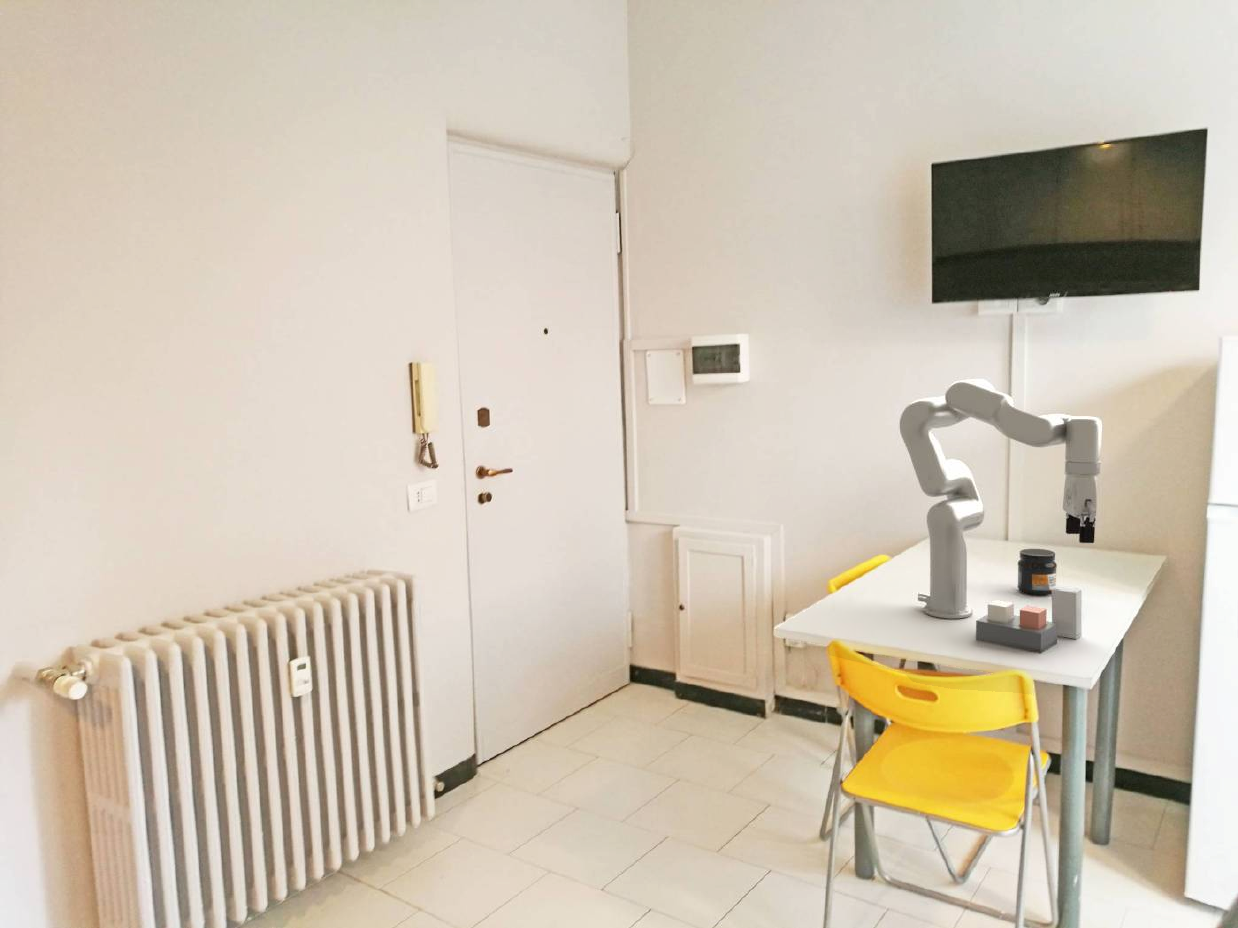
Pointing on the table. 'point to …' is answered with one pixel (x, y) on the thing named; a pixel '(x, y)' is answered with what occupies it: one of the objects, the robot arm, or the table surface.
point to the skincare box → (1067, 611)
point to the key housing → (1017, 634)
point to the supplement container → (1036, 572)
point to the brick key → (1033, 617)
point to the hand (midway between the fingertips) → (1079, 538)
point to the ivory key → (1001, 611)
